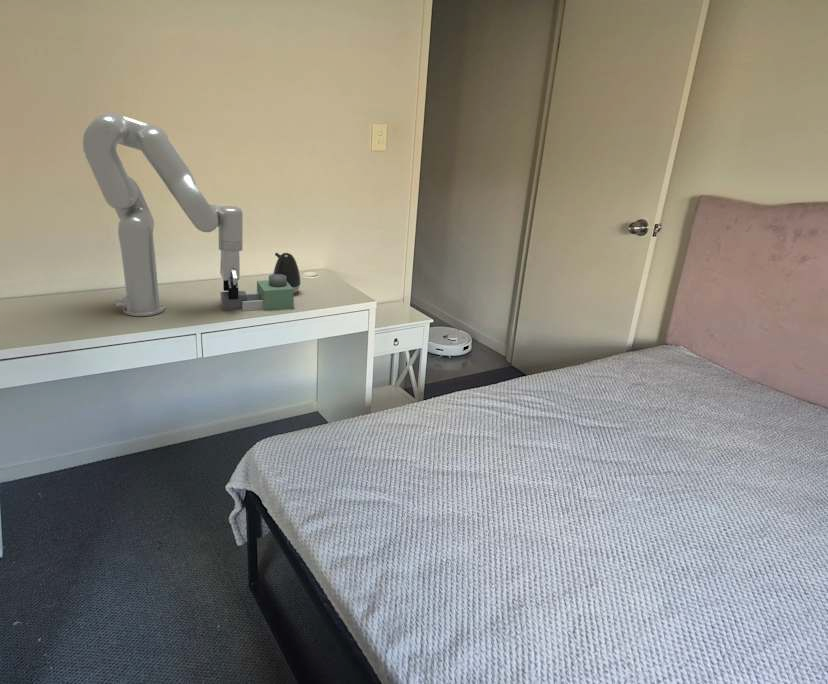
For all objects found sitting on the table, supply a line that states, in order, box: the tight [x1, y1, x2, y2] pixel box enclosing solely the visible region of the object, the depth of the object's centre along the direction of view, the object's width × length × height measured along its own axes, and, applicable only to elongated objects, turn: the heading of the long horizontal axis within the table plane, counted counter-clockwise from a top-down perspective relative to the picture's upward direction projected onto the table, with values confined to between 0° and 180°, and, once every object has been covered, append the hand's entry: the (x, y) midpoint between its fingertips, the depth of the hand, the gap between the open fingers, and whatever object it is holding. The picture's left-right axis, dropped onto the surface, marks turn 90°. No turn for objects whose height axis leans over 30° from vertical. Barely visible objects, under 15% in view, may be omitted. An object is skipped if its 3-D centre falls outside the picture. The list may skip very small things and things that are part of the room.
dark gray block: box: [219, 290, 248, 311], centre depth 202 cm, size 8×5×5 cm, turn 114°
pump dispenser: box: [273, 252, 301, 294], centre depth 219 cm, size 10×10×15 cm
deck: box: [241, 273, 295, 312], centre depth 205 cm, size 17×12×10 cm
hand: (230, 294), depth 201 cm, fingers open, 9 cm apart
